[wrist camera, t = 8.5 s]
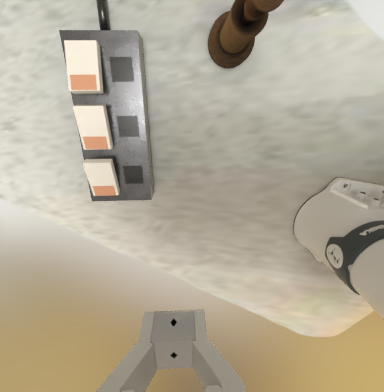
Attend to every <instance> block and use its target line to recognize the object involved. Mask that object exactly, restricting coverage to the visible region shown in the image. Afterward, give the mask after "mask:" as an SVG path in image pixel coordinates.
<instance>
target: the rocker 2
mask: <svg viewBox="0 0 384 392" xmlns="http://www.w3.org/2000/svg"><path fill="white" fill-rule="evenodd" d="M82 164H83V166H84V169H85V172H86V175H87V178H88V181H89V184H90V187H91V190H92V193H93V195H94V196H111V195H119V193H120V188H119V184H118V180H117V176H116V172H115V168H114V163H113V159H85V160H84V162H83V163H82Z"/></svg>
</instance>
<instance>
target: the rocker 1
mask: <svg viewBox="0 0 384 392" xmlns="http://www.w3.org/2000/svg"><path fill="white" fill-rule="evenodd" d="M64 46H65V56H66V66H67V77H68V87H69V91H70V92H71V93H73V94H96V93H103V81H102V68H101V55H100V45H99V43H98V42H97V41H96V40H64Z"/></svg>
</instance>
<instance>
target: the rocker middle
mask: <svg viewBox="0 0 384 392" xmlns="http://www.w3.org/2000/svg"><path fill="white" fill-rule="evenodd" d="M73 109H74V113H75V117H76V121H77V125H78V129H79V133H80V137H81V141H82V145H83V149H84V150H93V149H112V148H113V142H112V137H111V131H110V126H109V120H108V115H107V109H106V105H74V106H73Z"/></svg>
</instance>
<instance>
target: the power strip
mask: <svg viewBox="0 0 384 392" xmlns="http://www.w3.org/2000/svg"><path fill="white" fill-rule="evenodd" d="M96 1H97V8H98V16H99V23H100V30H59V31H60V36H61V41H62V47H63V52H64V57H65V62H66V56H65V46H64V40H96V41H97V42H98V43H99V45H100V55H101V68H102V81H103V93H96V94H73V93H71V94H72V99H73V104H74V105H106V109H107V115H108V120H109V126H110V131H111V137H112V142H113V148H112V149H93V150H84V149H83V145H82V141H81V137H80V141H81V146H82V151H83V157H84V160H85V159H113V163H114V168H115V172H116V176H117V180H118V184H119V188H120V193H119V195H111V196H94V195H93V193H92V190H91V187H90V184H89V188H90V193H91V198H92V201H118V200H151V199H152V196H153V193H154V183H153V171H152V158H151V145H150V132H149V119H148V106H147V94H146V81H145V68H144V55H143V42H142V38H141V36H140V35H139V33H138V31H118V30H109V23H108V15H107V7H106V0H96ZM66 68H67V66H66ZM78 130H79V129H78ZM79 136H80V133H79ZM88 183H89V181H88Z"/></svg>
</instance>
